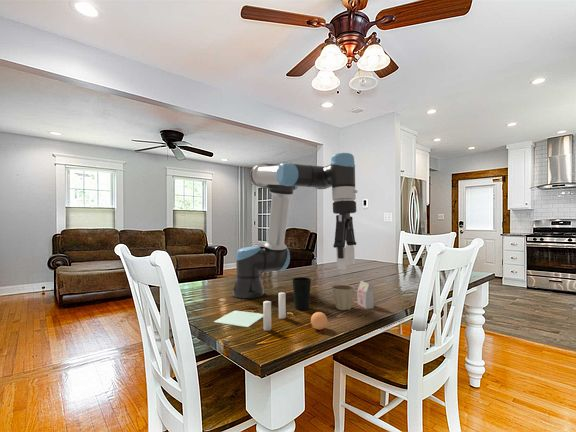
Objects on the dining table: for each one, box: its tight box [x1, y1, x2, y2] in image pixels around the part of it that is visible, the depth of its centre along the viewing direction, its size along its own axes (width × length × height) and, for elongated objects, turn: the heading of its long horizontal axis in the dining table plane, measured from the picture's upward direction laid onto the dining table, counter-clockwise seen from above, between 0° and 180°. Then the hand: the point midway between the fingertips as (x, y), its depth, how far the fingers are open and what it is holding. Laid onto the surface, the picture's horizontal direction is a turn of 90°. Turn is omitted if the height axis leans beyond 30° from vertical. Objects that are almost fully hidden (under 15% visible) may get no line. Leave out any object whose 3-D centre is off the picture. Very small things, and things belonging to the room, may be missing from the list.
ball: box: [310, 311, 328, 331], centre depth 95 cm, size 6×6×6 cm
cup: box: [291, 276, 312, 311], centre depth 118 cm, size 8×8×12 cm
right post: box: [278, 291, 287, 320], centre depth 107 cm, size 3×3×9 cm
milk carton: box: [356, 280, 374, 310], centre depth 121 cm, size 4×7×10 cm, turn 17°
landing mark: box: [213, 310, 263, 328], centre depth 106 cm, size 14×14×1 cm
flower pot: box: [331, 284, 356, 311], centre depth 118 cm, size 9×9×9 cm
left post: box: [262, 300, 272, 332], centre depth 95 cm, size 3×3×9 cm
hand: (346, 266), depth 92 cm, fingers open, 13 cm apart
